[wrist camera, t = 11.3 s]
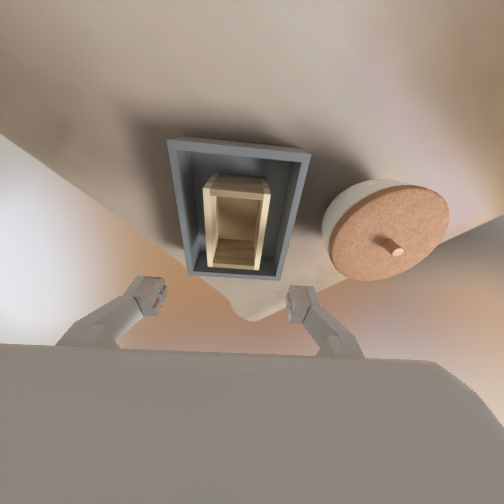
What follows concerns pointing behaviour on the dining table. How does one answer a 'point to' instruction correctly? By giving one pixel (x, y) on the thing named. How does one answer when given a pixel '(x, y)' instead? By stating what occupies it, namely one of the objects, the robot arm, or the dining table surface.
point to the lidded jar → (382, 228)
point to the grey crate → (247, 164)
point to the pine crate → (235, 220)
